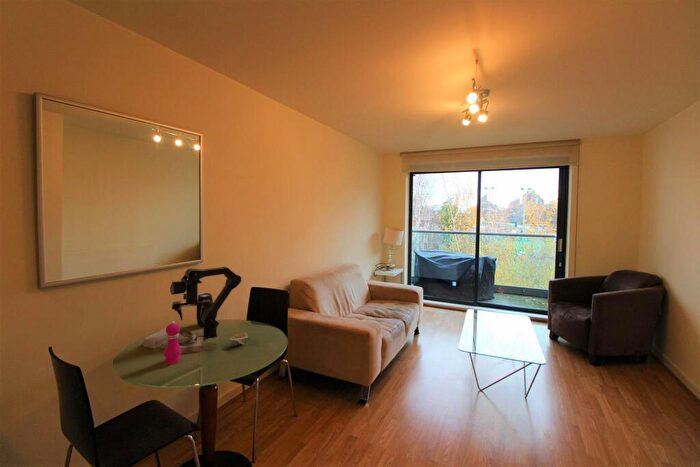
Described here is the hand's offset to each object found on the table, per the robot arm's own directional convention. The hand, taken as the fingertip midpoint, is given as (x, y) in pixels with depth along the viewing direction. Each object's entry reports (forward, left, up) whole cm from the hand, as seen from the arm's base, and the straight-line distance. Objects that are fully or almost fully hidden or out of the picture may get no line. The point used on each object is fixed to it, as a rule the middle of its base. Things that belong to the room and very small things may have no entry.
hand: (191, 319), depth 177 cm
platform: (-24, +14, -13) cm, 30 cm away
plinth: (0, +9, -12) cm, 15 cm away
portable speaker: (-7, -22, -12) cm, 26 cm away
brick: (+15, -4, -13) cm, 20 cm away
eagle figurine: (+1, +10, -9) cm, 13 cm away
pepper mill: (+7, +23, -12) cm, 27 cm away
